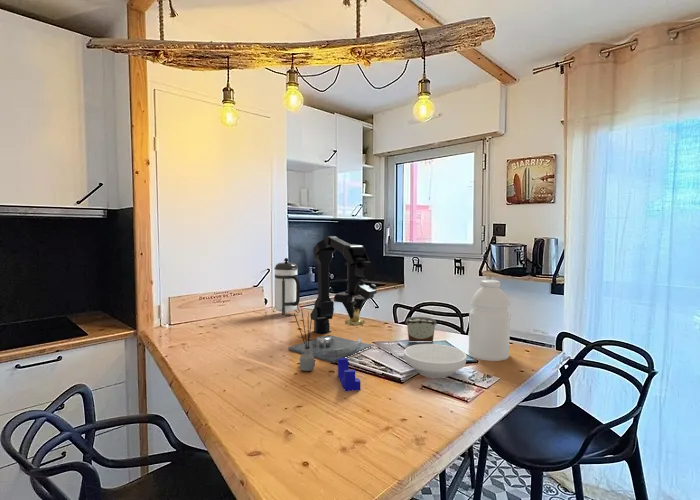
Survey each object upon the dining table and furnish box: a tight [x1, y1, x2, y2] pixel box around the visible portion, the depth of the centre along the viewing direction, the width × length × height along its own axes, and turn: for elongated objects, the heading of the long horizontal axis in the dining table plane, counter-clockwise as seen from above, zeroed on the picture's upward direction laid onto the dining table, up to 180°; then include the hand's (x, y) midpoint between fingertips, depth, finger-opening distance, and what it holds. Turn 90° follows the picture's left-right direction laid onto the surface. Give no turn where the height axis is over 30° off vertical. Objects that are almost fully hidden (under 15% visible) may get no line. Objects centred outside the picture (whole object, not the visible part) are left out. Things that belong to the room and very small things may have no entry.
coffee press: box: [272, 257, 301, 316], centre depth 215 cm, size 17×16×30 cm
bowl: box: [403, 343, 468, 379], centre depth 125 cm, size 20×20×7 cm
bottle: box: [467, 279, 511, 362], centre depth 142 cm, size 14×14×28 cm
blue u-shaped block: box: [337, 357, 361, 392], centre depth 118 cm, size 12×4×6 cm, turn 11°
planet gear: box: [344, 308, 365, 327], centre depth 154 cm, size 8×8×6 cm
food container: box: [405, 316, 438, 343], centre depth 161 cm, size 12×6×10 cm, turn 84°
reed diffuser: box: [293, 308, 316, 372], centre depth 128 cm, size 10×7×20 cm
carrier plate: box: [288, 334, 374, 364], centre depth 152 cm, size 23×23×4 cm
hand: (354, 317), depth 154 cm, fingers closed on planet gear, 4 cm apart
